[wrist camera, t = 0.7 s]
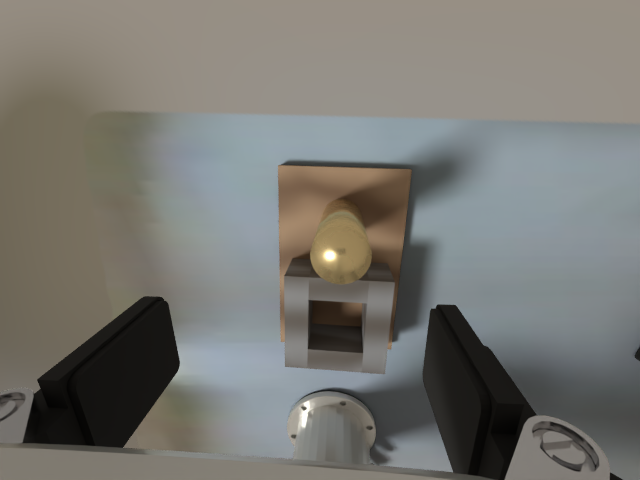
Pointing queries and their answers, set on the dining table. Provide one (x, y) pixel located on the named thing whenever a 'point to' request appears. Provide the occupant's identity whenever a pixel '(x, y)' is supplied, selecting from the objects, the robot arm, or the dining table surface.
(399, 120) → the dining table surface
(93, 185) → the dining table surface
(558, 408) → the dining table surface
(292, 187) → the socket board
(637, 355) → the battery charger
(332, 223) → the peg
